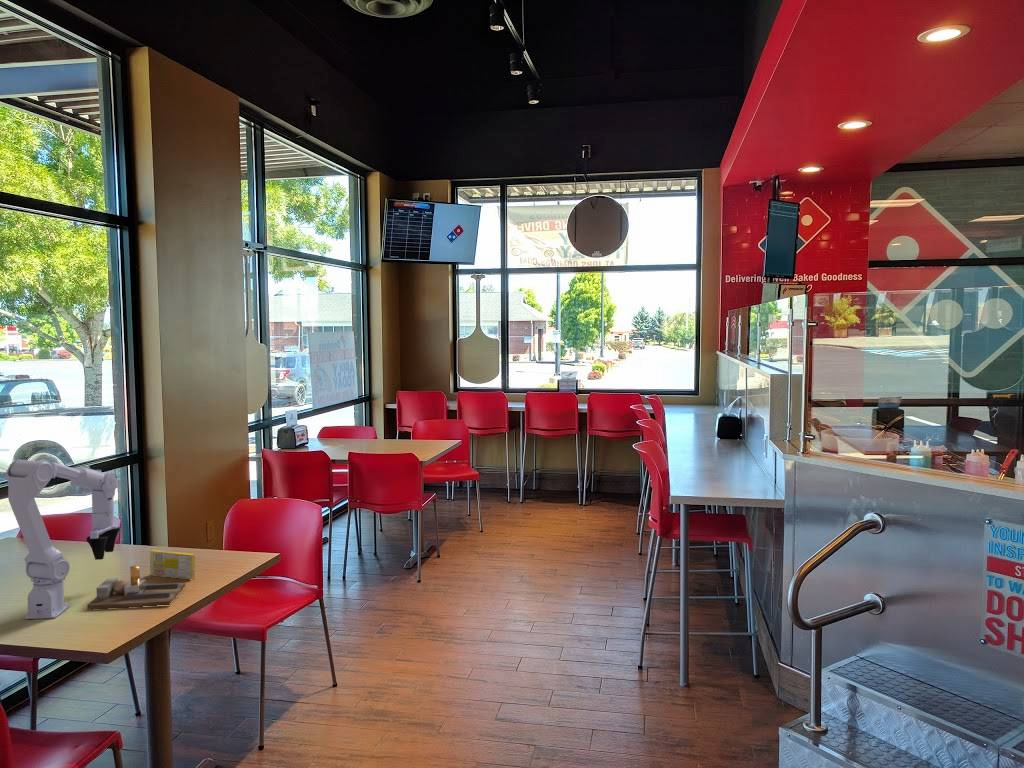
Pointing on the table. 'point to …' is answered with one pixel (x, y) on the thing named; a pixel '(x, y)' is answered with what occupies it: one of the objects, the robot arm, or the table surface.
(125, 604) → the press bench
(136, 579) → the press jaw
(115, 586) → the tan oval solid
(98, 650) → the table surface
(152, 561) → the candy box
